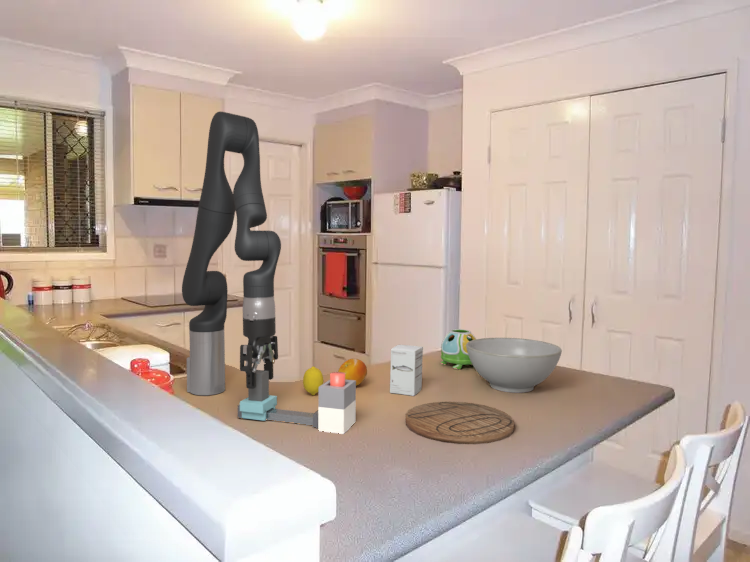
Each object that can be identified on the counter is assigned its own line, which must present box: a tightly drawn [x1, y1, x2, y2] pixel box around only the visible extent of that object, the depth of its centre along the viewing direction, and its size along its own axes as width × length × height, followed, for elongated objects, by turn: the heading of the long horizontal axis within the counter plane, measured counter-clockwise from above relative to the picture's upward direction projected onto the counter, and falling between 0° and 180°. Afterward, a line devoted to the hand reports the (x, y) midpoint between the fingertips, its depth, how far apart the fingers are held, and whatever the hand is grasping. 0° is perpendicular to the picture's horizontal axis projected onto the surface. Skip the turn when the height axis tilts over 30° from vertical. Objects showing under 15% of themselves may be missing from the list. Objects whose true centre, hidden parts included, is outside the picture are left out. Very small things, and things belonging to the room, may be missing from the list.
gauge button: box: [329, 371, 345, 387], centre depth 126 cm, size 3×3×6 cm
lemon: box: [302, 366, 325, 396], centre depth 151 cm, size 6×6×8 cm
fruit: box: [337, 357, 368, 387], centre depth 160 cm, size 8×9×8 cm
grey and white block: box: [317, 379, 357, 435], centre depth 126 cm, size 6×8×10 cm
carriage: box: [239, 369, 278, 422], centre depth 132 cm, size 6×7×11 cm
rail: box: [237, 403, 318, 429], centre depth 130 cm, size 20×5×3 cm, turn 73°
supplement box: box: [389, 344, 424, 397], centre depth 155 cm, size 7×7×13 cm
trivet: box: [405, 401, 515, 445], centre depth 129 cm, size 25×25×2 cm
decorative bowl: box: [466, 337, 563, 394], centre depth 161 cm, size 27×27×12 cm
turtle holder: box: [440, 328, 477, 370], centre depth 186 cm, size 12×18×12 cm
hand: (260, 383), depth 132 cm, fingers open, 8 cm apart
